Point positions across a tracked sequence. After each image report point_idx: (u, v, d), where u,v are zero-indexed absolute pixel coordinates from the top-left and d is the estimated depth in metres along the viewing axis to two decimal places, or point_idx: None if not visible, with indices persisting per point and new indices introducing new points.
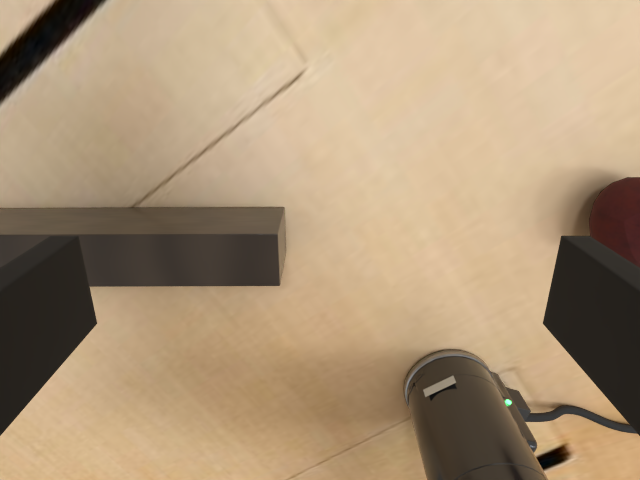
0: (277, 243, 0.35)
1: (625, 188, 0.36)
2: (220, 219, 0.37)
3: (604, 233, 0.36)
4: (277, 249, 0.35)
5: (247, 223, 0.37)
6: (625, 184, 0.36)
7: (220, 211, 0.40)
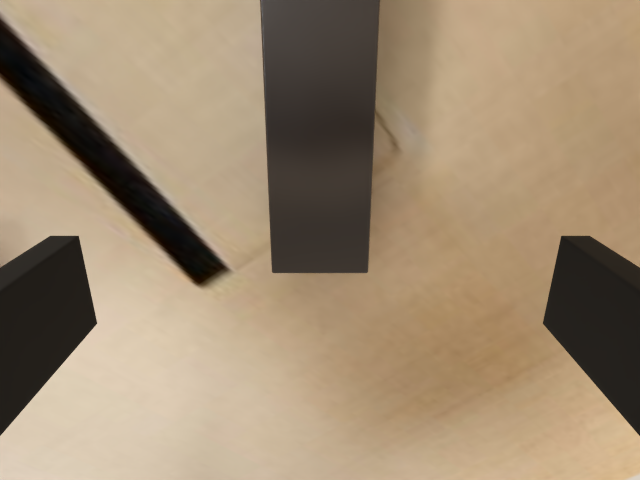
0: None
1: None
2: None
3: None
4: None
5: None
6: None
7: None
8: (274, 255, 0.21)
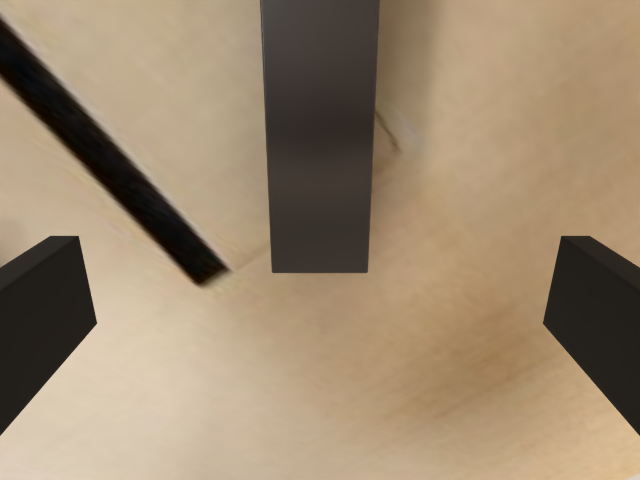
0: None
1: None
2: None
3: None
4: None
5: None
6: None
7: None
8: (274, 255, 0.21)
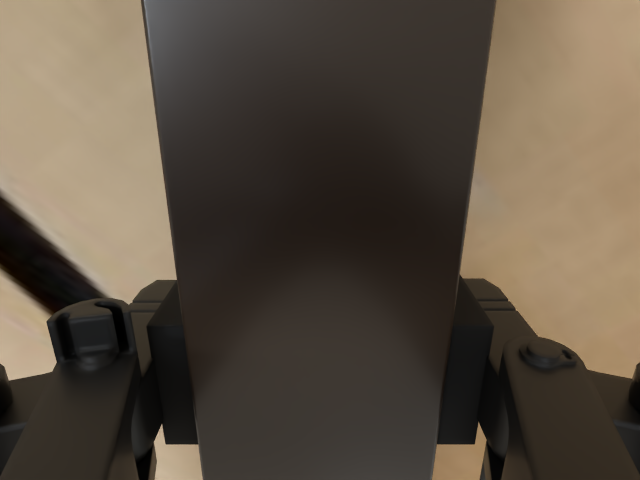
0: None
1: None
2: None
3: None
4: None
5: None
6: None
7: None
8: None
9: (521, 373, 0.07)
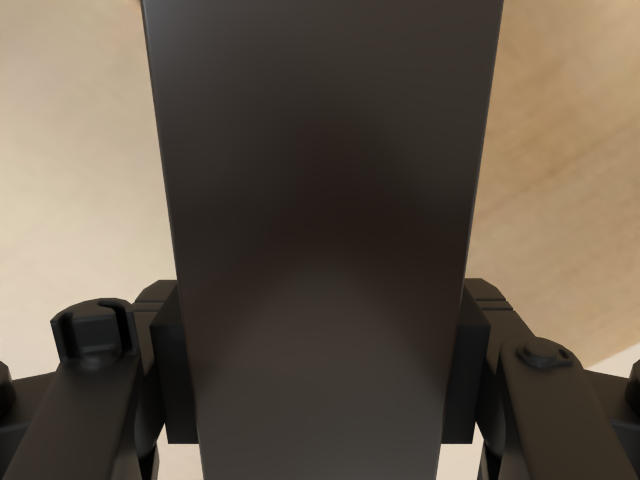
0: None
1: None
2: None
3: None
4: None
5: None
6: None
7: None
8: None
9: (518, 372, 0.07)
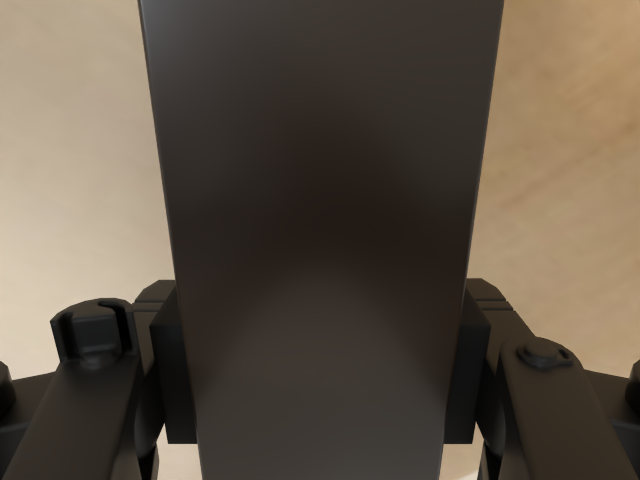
0: None
1: None
2: None
3: None
4: None
5: None
6: None
7: None
8: None
9: (518, 373, 0.07)
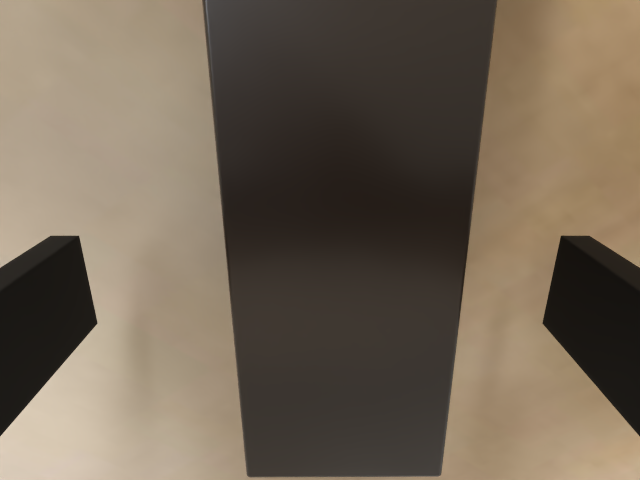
0: None
1: None
2: None
3: None
4: None
5: None
6: None
7: None
8: (251, 447, 0.10)
9: None
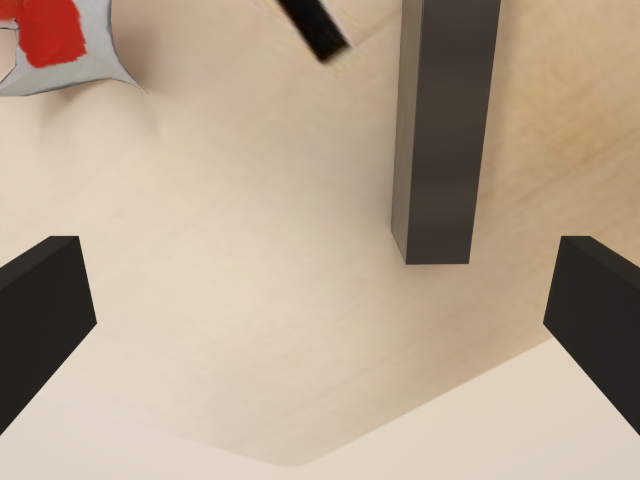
0: None
1: None
2: None
3: None
4: None
5: None
6: None
7: None
8: (408, 252, 0.31)
9: None
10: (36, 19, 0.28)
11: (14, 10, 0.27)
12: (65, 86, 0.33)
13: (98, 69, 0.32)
